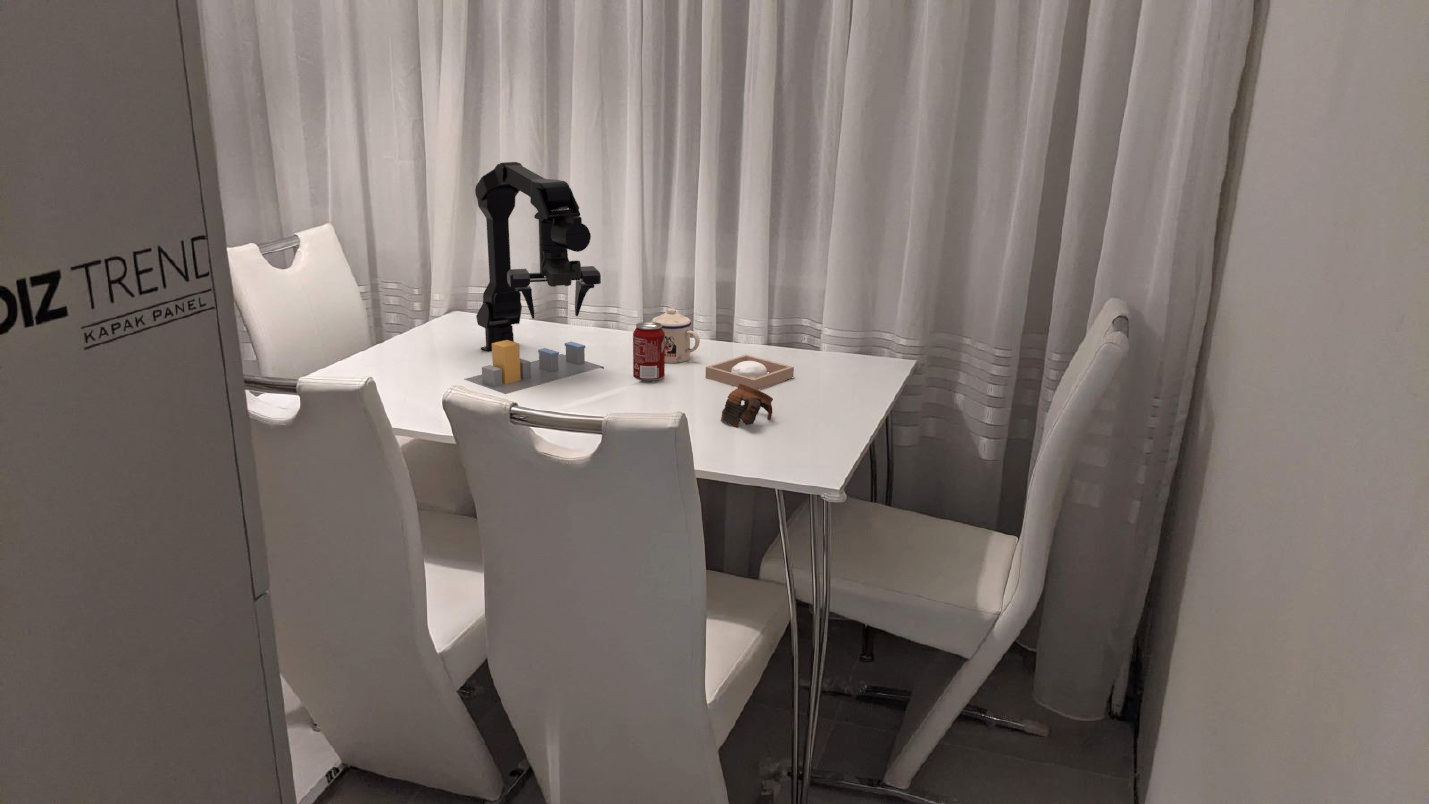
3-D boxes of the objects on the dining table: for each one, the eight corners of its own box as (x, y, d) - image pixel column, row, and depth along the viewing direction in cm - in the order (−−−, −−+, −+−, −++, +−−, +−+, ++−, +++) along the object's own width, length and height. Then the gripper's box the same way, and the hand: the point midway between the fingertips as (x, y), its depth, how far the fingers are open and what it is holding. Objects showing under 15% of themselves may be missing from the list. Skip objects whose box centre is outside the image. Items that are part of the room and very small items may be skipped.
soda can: (660, 384, 227) (660, 330, 223) (629, 382, 228) (629, 327, 224) (667, 375, 233) (668, 322, 229) (637, 373, 234) (637, 320, 230)
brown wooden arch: (712, 417, 209) (730, 379, 210) (754, 436, 211) (772, 399, 212) (726, 422, 198) (744, 382, 198) (771, 443, 200) (789, 402, 200)
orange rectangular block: (493, 380, 224) (491, 343, 221) (508, 376, 227) (507, 339, 224) (505, 384, 221) (503, 347, 219) (520, 380, 224) (519, 343, 222)
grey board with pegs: (463, 383, 224) (462, 360, 223) (561, 358, 244) (561, 336, 242) (505, 398, 216) (504, 374, 214) (603, 370, 235) (603, 348, 233)
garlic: (742, 386, 228) (743, 369, 226) (723, 378, 233) (724, 361, 231) (771, 380, 232) (772, 363, 231) (752, 372, 237) (753, 356, 236)
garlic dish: (705, 377, 232) (705, 366, 231) (745, 365, 242) (745, 354, 241) (753, 391, 223) (754, 380, 223) (793, 377, 233) (793, 366, 232)
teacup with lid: (643, 359, 244) (643, 310, 240) (665, 350, 251) (666, 302, 248) (687, 368, 238) (688, 317, 234) (709, 359, 246) (710, 309, 242)
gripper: (512, 252, 209) (515, 329, 215) (606, 249, 215) (606, 324, 220) (505, 242, 219) (508, 315, 225) (594, 239, 225) (595, 311, 230)
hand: (555, 316), depth 225 cm, fingers open, 9 cm apart
